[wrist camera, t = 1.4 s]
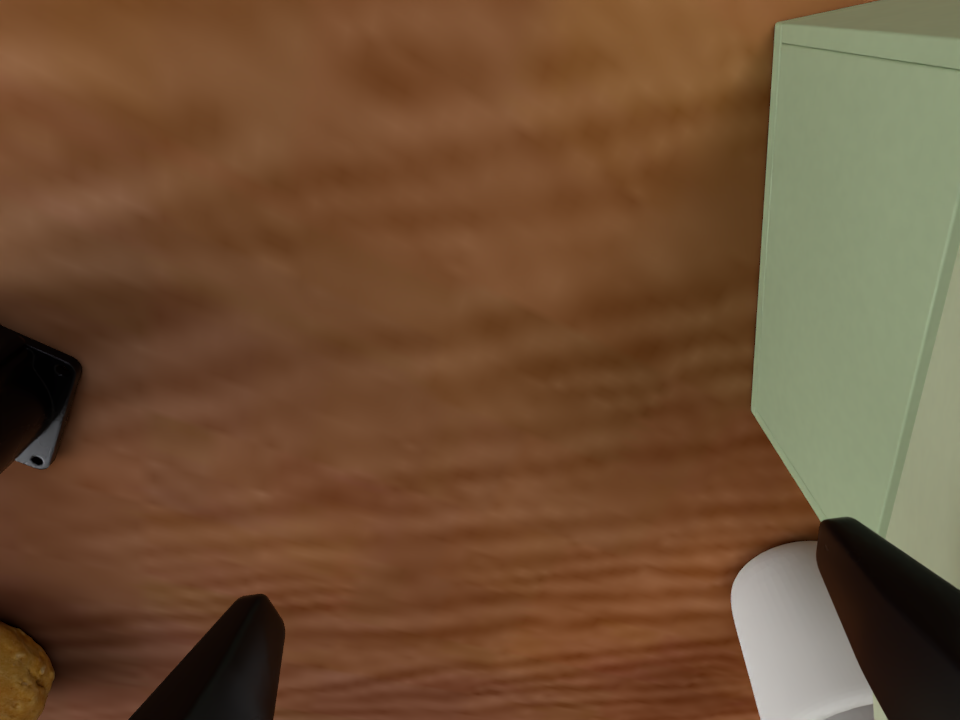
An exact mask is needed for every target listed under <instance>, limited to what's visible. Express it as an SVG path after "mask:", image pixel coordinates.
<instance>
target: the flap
mask: <svg viewBox="0 0 960 720" xmlns="http://www.w3.org/2000/svg"><path fill="white" fill-rule="evenodd" d="M885 539H886V540H887V541H889V542H890V543H892V544H893V545H895V546H896V547H897V548H899V549H900V550H902V551H903V552H905V553H906V554H908V555H909V556H911V557H912V558H914V559H915V560H917V561H918V562H919V563H921V564H922V565H924V566H925V567H927V568H928V569H930V570H931V571H933V572H934V573H936V574H937V575H939V576H940V577H941V578H943V579H944V580H946V581H947V582H949V583H950V584H952V585H953V586H955V587H956V588H958V589H959V590H960V244H959V248H958V252H957V256H956V260H955V264H954V268H953V272H952V276H951V280H950V284H949V288H948V292H947V296H946V300H945V304H944V308H943V312H942V316H941V320H940V324H939V328H938V332H937V336H936V340H935V344H934V348H933V351H932V355H931V359H930V363H929V367H928V371H927V375H926V379H925V383H924V387H923V391H922V395H921V399H920V403H919V407H918V411H917V415H916V419H915V423H914V427H913V431H912V435H911V439H910V443H909V447H908V451H907V455H906V459H905V463H904V467H903V470H902V474H901V478H900V482H899V486H898V490H897V494H896V498H895V502H894V506H893V510H892V514H891V518H890V522H889V526H888V530H887V534H886V538H885ZM873 708H874V720H888V719H887V717H886V715H885V713H884V712H883V710H882V708H881V706H880V704H879V702H878V701H877V699H876V697H875V695H874V693H873Z"/></svg>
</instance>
